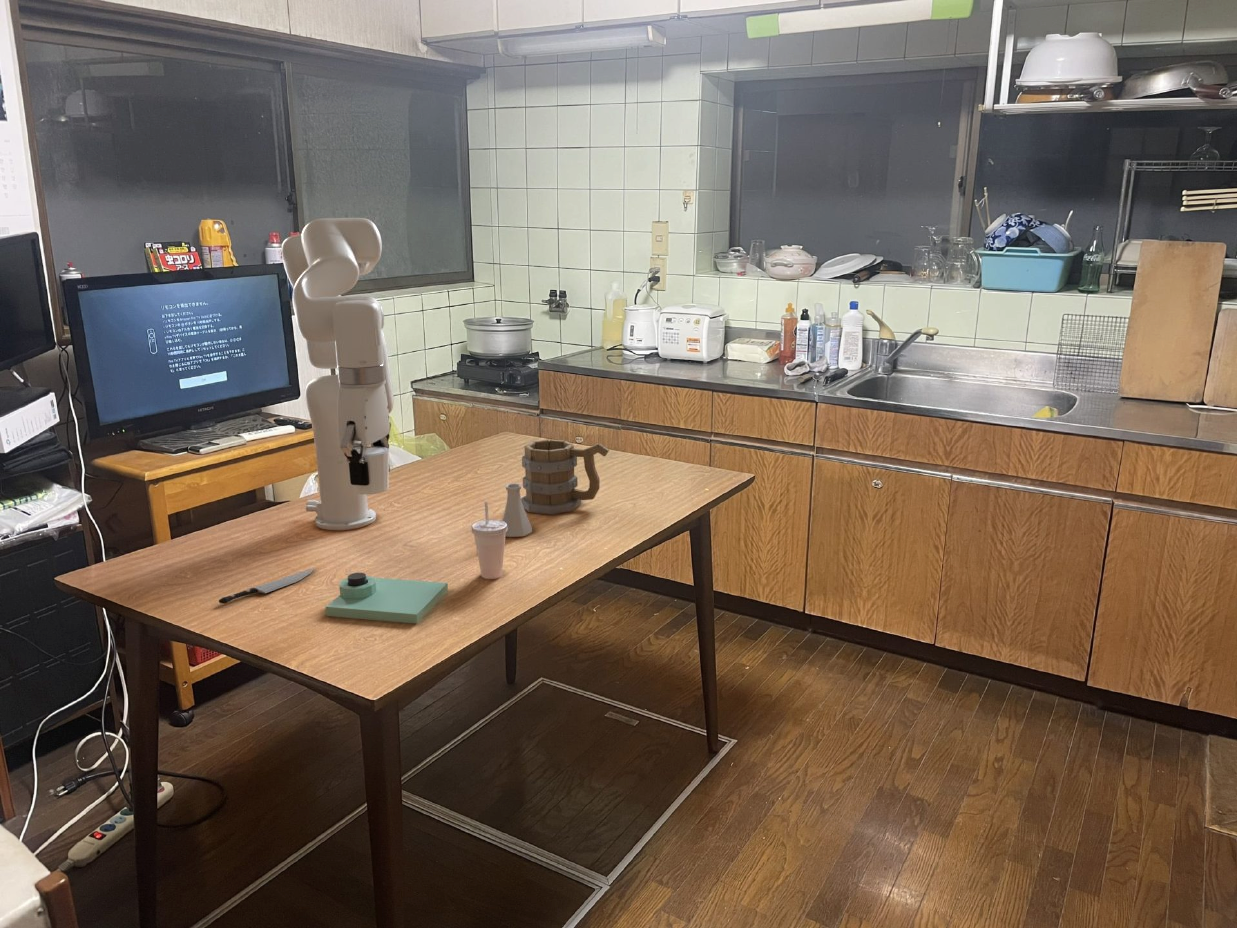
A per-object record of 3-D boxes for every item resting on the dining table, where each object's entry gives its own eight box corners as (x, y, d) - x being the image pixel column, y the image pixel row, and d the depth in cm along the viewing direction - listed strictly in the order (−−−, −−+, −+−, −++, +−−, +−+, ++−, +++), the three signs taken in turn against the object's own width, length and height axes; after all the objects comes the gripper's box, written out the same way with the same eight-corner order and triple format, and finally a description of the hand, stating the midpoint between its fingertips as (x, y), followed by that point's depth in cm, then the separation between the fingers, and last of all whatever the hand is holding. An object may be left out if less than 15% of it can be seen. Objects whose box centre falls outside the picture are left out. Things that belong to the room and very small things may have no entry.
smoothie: (492, 566, 170) (489, 494, 166) (516, 574, 166) (513, 501, 163) (466, 576, 165) (462, 503, 162) (490, 585, 162) (487, 510, 158)
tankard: (513, 511, 201) (510, 445, 197) (536, 494, 213) (534, 432, 209) (598, 520, 195) (597, 452, 191) (617, 502, 207) (616, 438, 203)
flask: (527, 539, 184) (525, 491, 181) (492, 536, 185) (490, 490, 183) (537, 527, 191) (535, 481, 188) (504, 525, 192) (502, 479, 190)
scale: (323, 615, 150) (321, 596, 149) (361, 585, 162) (359, 566, 161) (417, 623, 147) (415, 603, 146) (448, 591, 159) (446, 573, 158)
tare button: (345, 587, 154) (344, 578, 153) (353, 580, 156) (352, 571, 156) (361, 588, 153) (360, 579, 152) (369, 581, 156) (369, 572, 155)
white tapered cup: (350, 497, 153) (346, 457, 151) (351, 486, 159) (347, 447, 158) (392, 493, 155) (389, 453, 153) (391, 482, 161) (388, 444, 159)
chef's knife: (323, 574, 167) (313, 569, 169) (323, 568, 167) (313, 564, 169) (227, 609, 153) (217, 604, 154) (226, 603, 152) (216, 597, 154)
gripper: (365, 367, 161) (374, 464, 165) (314, 384, 144) (324, 492, 149) (405, 368, 159) (412, 466, 164) (357, 385, 143) (367, 494, 148)
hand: (370, 477), depth 156 cm, fingers closed on white tapered cup, 6 cm apart
